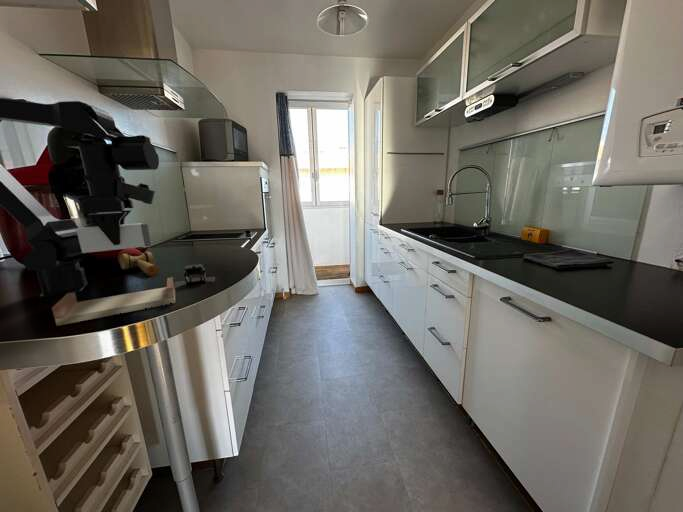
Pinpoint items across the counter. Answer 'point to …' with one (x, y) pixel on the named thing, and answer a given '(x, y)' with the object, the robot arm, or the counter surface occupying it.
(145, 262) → the kendama
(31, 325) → the counter surface
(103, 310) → the cradle
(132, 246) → the grey-ended white block
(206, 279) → the dark piece
